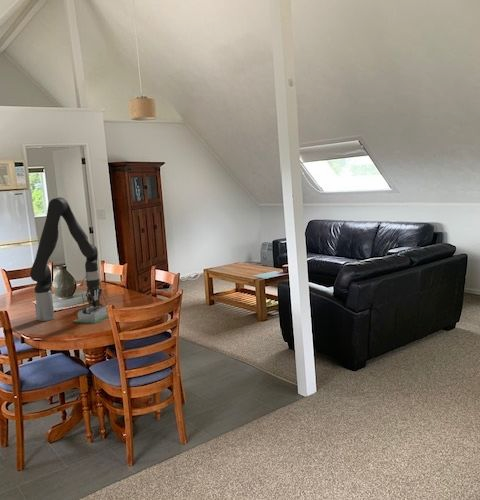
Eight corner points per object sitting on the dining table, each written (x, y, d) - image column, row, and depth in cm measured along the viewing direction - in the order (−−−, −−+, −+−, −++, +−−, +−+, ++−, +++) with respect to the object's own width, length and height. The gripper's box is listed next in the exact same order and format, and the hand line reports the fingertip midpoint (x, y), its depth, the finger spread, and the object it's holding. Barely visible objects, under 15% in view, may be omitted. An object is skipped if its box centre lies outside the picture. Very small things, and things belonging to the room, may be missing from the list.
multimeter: (82, 310, 314) (78, 280, 311) (83, 306, 324) (80, 276, 320) (105, 308, 317) (102, 277, 314) (106, 304, 326) (103, 274, 323)
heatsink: (72, 321, 291) (71, 309, 289) (93, 312, 308) (92, 301, 307) (95, 323, 285) (94, 311, 284) (115, 314, 302) (113, 302, 301)
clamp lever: (89, 313, 289) (89, 310, 289) (84, 312, 291) (84, 310, 290) (101, 308, 300) (101, 305, 300) (97, 307, 301) (96, 305, 301)
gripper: (94, 275, 302) (96, 303, 305) (80, 280, 290) (82, 309, 293) (104, 276, 299) (107, 304, 302) (90, 281, 287) (93, 310, 290)
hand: (95, 306), depth 297 cm, fingers closed
